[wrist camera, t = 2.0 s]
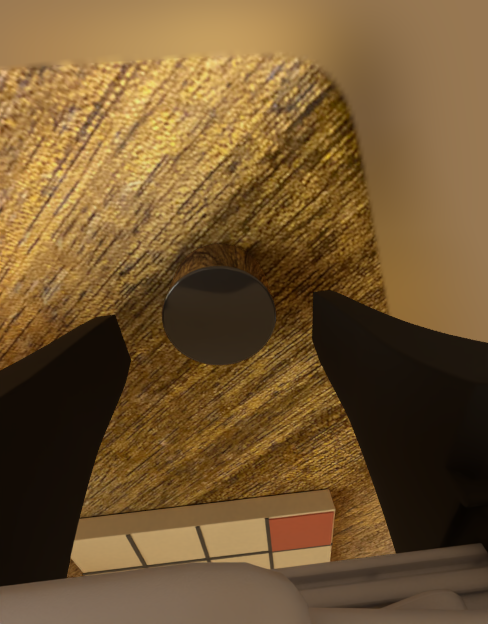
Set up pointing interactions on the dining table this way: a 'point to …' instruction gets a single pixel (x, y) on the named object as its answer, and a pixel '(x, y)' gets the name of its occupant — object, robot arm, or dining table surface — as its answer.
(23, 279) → the dining table surface
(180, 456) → the dining table surface
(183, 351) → the dark grey cylinder
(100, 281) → the dining table surface
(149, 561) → the board
